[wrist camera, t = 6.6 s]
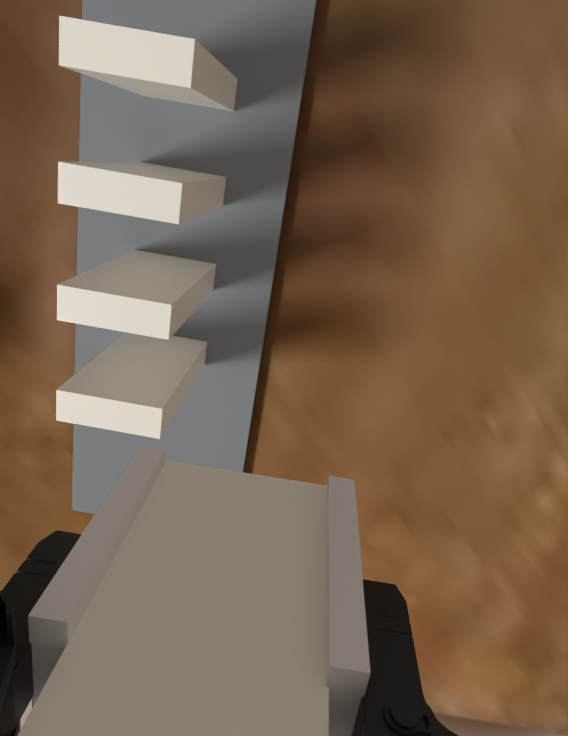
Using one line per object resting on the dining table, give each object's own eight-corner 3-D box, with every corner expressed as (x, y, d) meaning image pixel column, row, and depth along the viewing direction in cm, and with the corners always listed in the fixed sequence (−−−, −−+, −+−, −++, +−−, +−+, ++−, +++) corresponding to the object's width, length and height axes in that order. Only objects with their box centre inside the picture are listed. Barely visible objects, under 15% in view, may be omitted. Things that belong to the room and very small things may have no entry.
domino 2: (139, 161, 31) (58, 161, 21) (226, 176, 31) (182, 183, 21) (137, 190, 31) (57, 203, 22) (222, 205, 31) (178, 224, 22)
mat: (88, -38, 28) (83, -42, 27) (316, 1, 28) (316, -3, 27) (75, 505, 40) (71, 509, 40) (233, 533, 40) (232, 539, 40)
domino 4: (129, 328, 34) (56, 389, 25) (207, 341, 34) (162, 408, 25) (128, 351, 35) (56, 420, 26) (204, 365, 35) (159, 439, 26)
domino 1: (145, 62, 29) (59, 15, 20) (237, 78, 29) (194, 39, 20) (143, 95, 29) (59, 65, 20) (233, 111, 29) (190, 88, 20)
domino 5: (166, 460, 17) (-40, 842, 7) (328, 485, 16) (328, 908, 7) (163, 503, 17) (-32, 909, 8) (319, 528, 17) (310, 972, 8)
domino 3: (134, 249, 33) (57, 284, 23) (216, 263, 32) (171, 304, 23) (132, 275, 33) (57, 320, 24) (213, 289, 33) (168, 339, 24)
